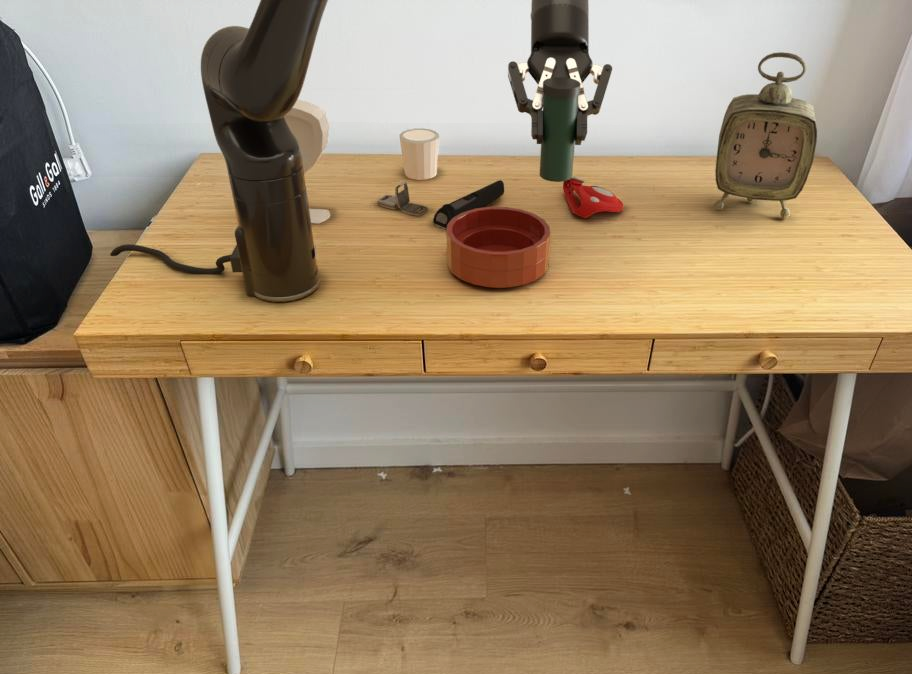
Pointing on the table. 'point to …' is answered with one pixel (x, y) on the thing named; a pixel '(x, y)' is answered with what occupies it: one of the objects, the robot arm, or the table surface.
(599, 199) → the tracker holder
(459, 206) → the electric trimmer
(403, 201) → the strap clip
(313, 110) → the heart sculpture
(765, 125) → the tabletop clock
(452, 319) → the table surface
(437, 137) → the shot glass
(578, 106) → the robot arm
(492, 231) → the bowl
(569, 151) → the tube
